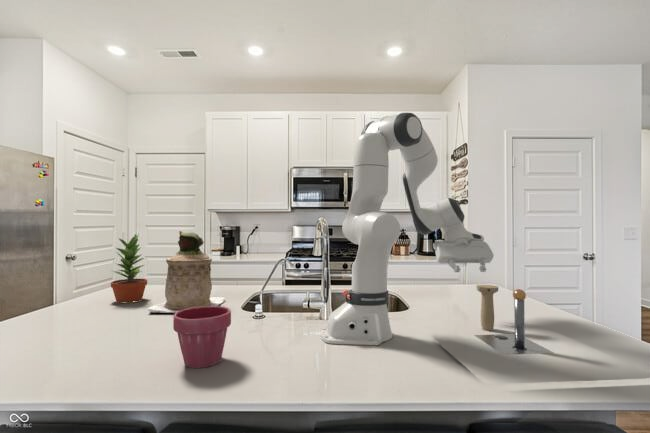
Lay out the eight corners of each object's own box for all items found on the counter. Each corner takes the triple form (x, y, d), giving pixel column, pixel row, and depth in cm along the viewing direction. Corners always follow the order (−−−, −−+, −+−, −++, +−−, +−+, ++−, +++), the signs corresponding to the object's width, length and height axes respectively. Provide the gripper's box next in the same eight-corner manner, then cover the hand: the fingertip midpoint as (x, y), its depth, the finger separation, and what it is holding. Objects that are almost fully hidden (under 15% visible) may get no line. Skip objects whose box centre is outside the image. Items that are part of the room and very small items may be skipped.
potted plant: (101, 304, 159) (101, 234, 159) (126, 296, 174) (126, 233, 174) (132, 305, 156) (132, 235, 156) (154, 297, 171) (154, 233, 171)
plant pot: (187, 351, 102) (187, 305, 102) (237, 351, 102) (237, 305, 102) (163, 372, 88) (163, 319, 88) (221, 373, 88) (221, 319, 88)
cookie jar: (208, 315, 141) (208, 231, 141) (144, 315, 141) (144, 231, 141) (226, 300, 166) (226, 229, 166) (172, 300, 166) (172, 229, 166)
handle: (500, 336, 114) (500, 288, 114) (478, 334, 116) (478, 287, 116) (496, 331, 119) (496, 285, 119) (475, 330, 120) (475, 284, 120)
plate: (503, 359, 96) (503, 354, 96) (473, 339, 112) (473, 334, 112) (554, 357, 97) (554, 352, 97) (517, 337, 113) (517, 333, 113)
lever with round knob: (517, 350, 99) (517, 290, 99) (510, 346, 102) (510, 288, 102) (528, 350, 99) (528, 290, 99) (521, 346, 102) (521, 288, 102)
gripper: (433, 236, 135) (444, 265, 126) (487, 235, 137) (501, 265, 127) (429, 247, 140) (439, 276, 130) (481, 246, 141) (494, 276, 132)
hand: (470, 271), depth 129 cm, fingers open, 8 cm apart
